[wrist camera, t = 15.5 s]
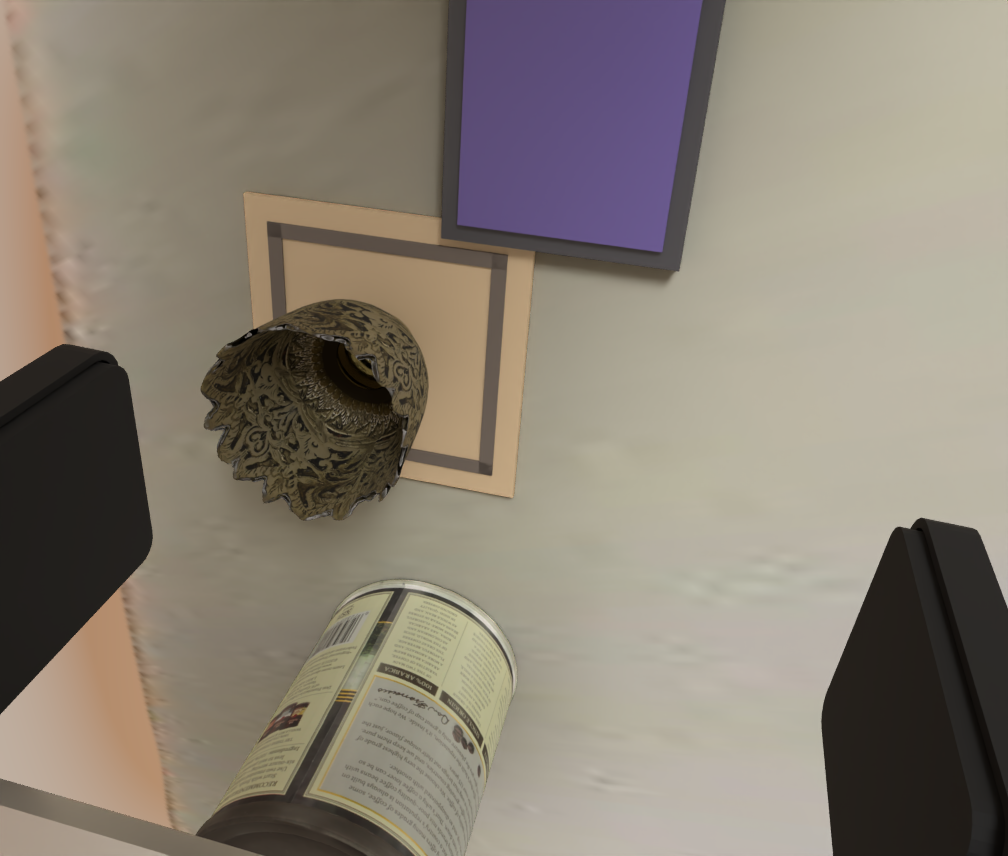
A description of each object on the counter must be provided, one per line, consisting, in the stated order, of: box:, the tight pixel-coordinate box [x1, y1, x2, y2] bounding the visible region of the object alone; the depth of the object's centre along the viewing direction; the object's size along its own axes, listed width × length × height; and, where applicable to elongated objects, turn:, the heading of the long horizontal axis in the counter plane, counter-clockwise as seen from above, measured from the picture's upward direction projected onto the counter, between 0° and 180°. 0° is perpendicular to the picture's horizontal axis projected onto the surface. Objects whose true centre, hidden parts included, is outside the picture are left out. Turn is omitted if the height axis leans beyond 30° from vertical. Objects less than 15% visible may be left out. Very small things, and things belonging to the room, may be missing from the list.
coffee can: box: [195, 579, 517, 856], centre depth 39 cm, size 10×10×14 cm
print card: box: [243, 192, 535, 498], centre depth 37 cm, size 12×12×1 cm
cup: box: [201, 299, 429, 521], centre depth 33 cm, size 8×7×8 cm
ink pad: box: [441, 0, 726, 271], centre depth 30 cm, size 11×9×1 cm
